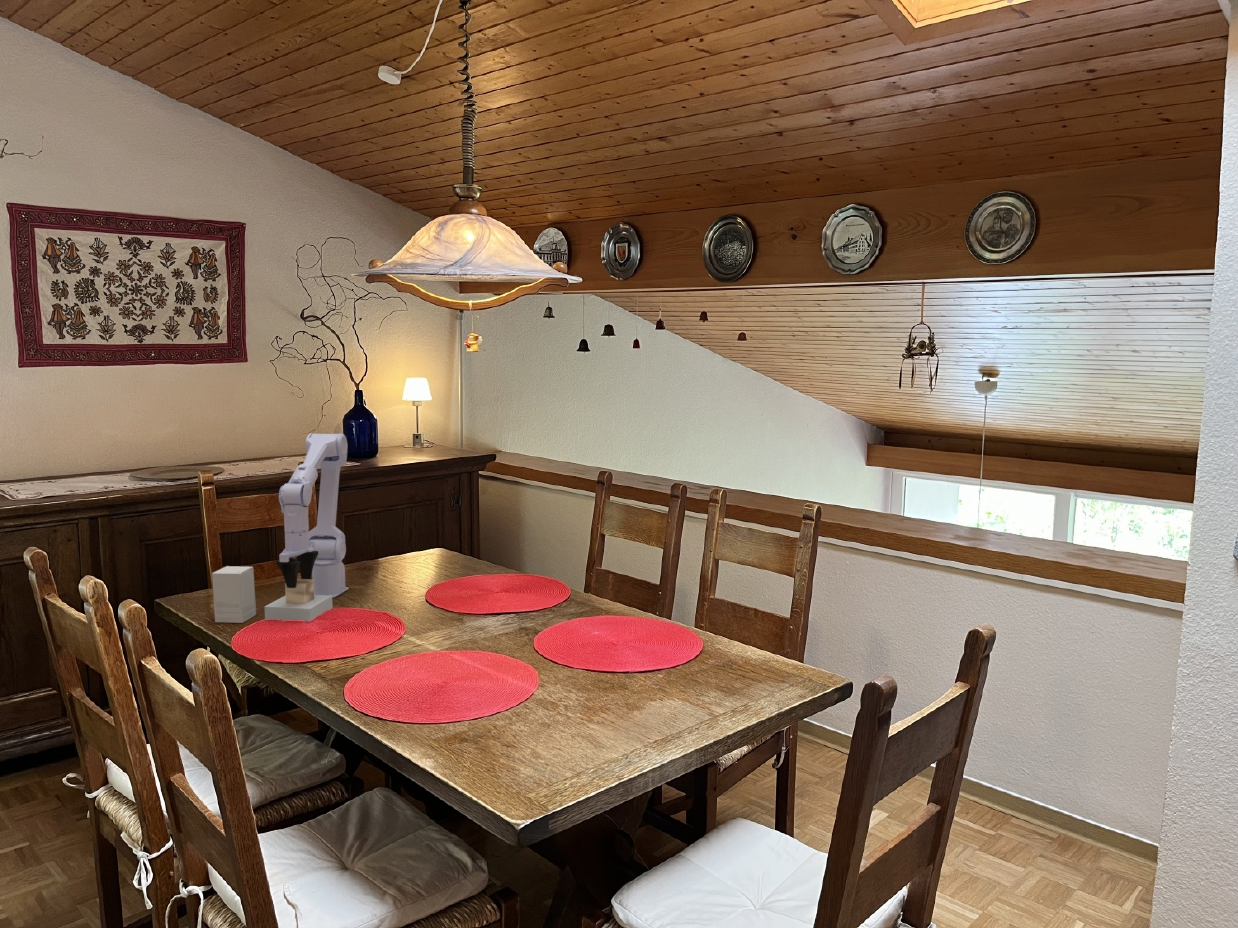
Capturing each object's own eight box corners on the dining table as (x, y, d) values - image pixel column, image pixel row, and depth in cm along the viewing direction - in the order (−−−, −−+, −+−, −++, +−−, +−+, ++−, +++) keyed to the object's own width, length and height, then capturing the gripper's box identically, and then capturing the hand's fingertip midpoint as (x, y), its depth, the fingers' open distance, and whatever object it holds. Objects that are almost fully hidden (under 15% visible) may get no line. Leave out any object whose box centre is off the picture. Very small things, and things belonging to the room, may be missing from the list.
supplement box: (257, 614, 231) (254, 566, 230) (242, 623, 224) (239, 573, 222) (229, 613, 232) (226, 565, 230) (213, 622, 225) (210, 572, 223)
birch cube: (295, 597, 234) (295, 578, 234) (314, 598, 234) (313, 579, 233) (285, 603, 229) (285, 583, 229) (304, 604, 229) (303, 584, 228)
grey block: (289, 608, 239) (288, 593, 238) (332, 610, 237) (332, 595, 236) (265, 622, 227) (264, 606, 226) (310, 624, 225) (310, 608, 225)
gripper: (297, 537, 221) (300, 591, 223) (325, 525, 236) (327, 576, 237) (270, 536, 222) (272, 590, 224) (299, 524, 237) (301, 575, 238)
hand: (299, 583), depth 231 cm, fingers open, 7 cm apart
